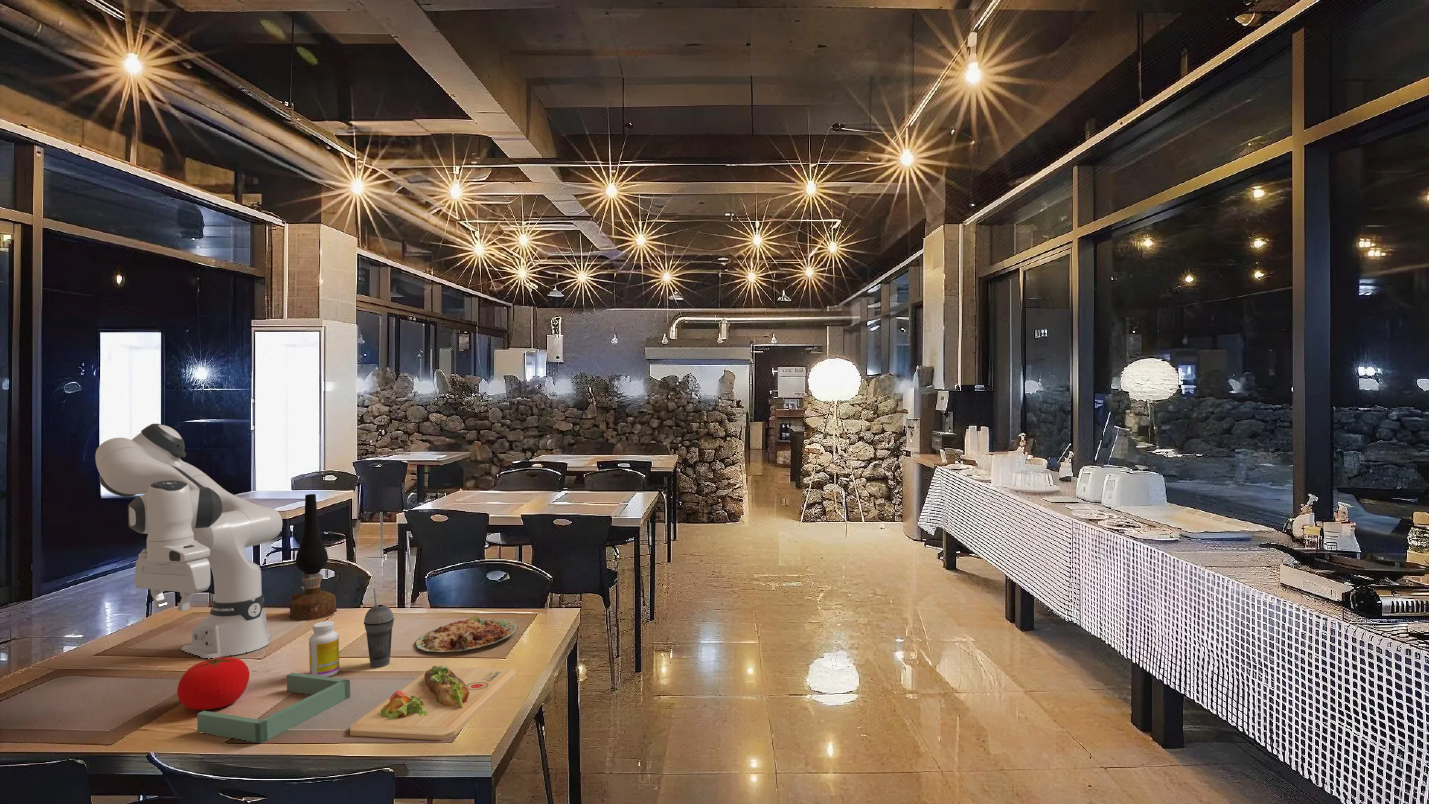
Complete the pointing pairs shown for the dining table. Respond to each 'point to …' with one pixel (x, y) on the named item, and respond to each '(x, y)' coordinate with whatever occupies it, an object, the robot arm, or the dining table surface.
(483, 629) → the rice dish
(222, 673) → the tomato
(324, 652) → the supplement bottle
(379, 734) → the cutting board
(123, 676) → the dining table surface
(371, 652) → the beverage cup
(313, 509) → the oil lamp
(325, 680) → the corral
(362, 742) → the dining table surface
